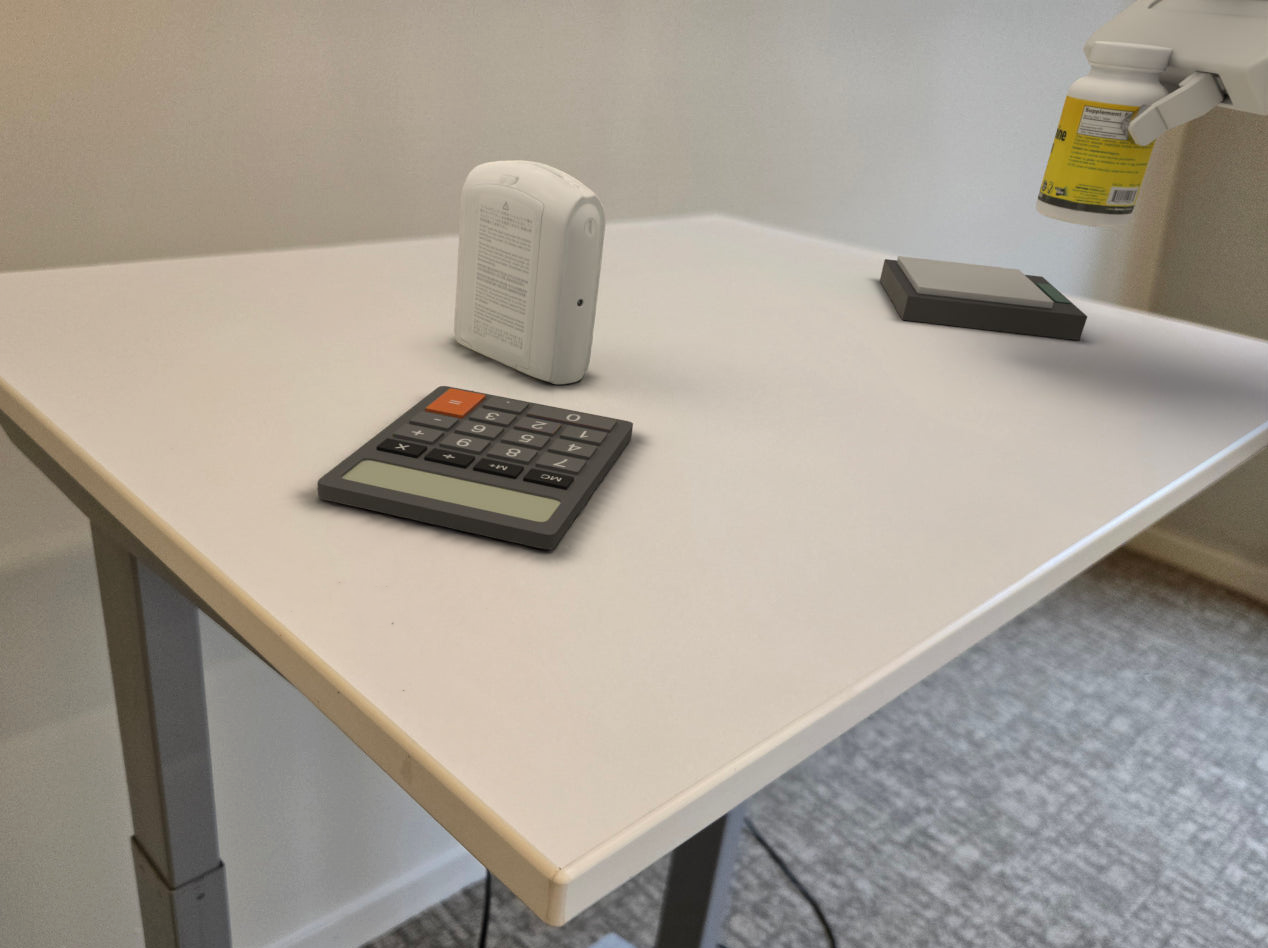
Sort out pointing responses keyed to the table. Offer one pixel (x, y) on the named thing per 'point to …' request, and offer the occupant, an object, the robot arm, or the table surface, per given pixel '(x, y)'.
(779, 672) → the table surface
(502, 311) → the photo printer
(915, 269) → the scale
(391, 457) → the calculator
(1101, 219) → the pill bottle
